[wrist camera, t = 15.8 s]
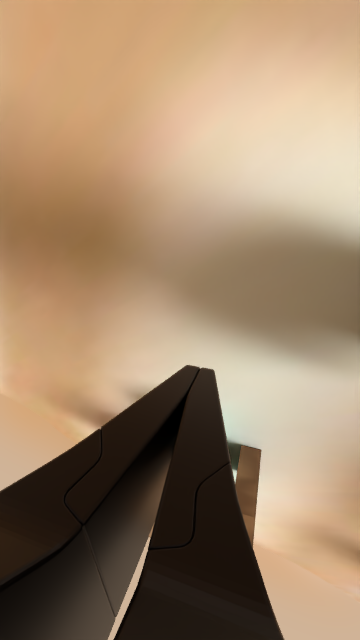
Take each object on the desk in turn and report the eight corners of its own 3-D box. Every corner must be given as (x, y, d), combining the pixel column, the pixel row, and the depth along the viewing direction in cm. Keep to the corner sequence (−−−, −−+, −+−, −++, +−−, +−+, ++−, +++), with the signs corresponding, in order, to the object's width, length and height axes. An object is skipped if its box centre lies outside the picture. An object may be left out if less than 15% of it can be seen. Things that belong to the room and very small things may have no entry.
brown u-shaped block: (261, 450, 27) (252, 547, 20) (256, 476, 29) (246, 572, 22) (158, 424, 30) (121, 503, 23) (160, 449, 32) (127, 529, 25)
